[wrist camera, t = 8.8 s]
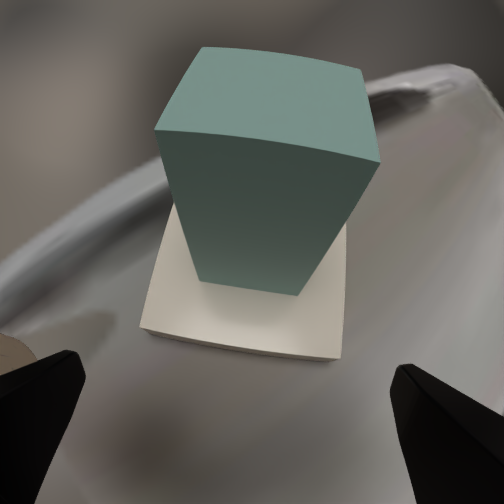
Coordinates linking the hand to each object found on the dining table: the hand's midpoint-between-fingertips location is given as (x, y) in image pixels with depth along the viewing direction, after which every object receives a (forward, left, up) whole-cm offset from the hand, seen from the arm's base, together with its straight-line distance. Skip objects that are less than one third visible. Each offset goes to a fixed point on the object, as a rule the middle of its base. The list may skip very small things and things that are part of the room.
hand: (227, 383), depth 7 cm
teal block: (+8, +1, -9) cm, 12 cm away
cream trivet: (+8, +1, -12) cm, 14 cm away
